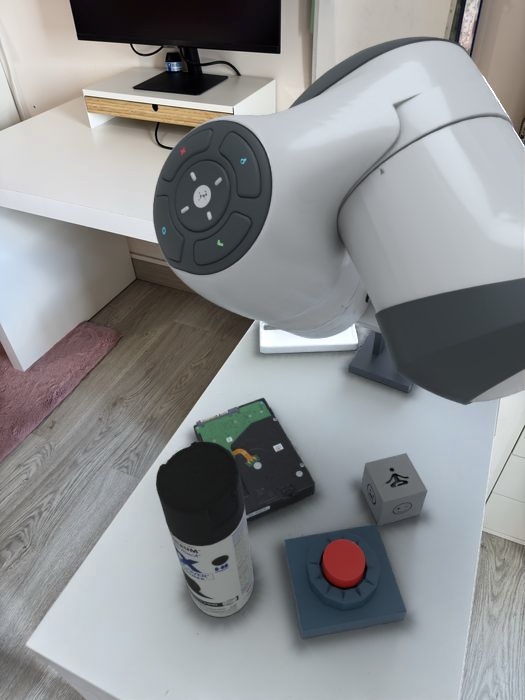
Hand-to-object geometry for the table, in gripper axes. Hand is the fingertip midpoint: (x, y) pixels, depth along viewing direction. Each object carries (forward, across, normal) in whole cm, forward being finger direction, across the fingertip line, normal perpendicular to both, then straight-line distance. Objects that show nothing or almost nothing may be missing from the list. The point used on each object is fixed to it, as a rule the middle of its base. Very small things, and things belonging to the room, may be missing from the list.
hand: (354, 308), depth 50 cm
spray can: (0, +3, +31) cm, 31 cm away
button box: (+4, -7, +27) cm, 28 cm away
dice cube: (+12, -8, +19) cm, 24 cm away
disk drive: (+10, +8, +21) cm, 25 cm away
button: (+2, -7, +24) cm, 25 cm away
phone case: (+27, +13, +4) cm, 31 cm away
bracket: (+29, 0, +2) cm, 29 cm away
